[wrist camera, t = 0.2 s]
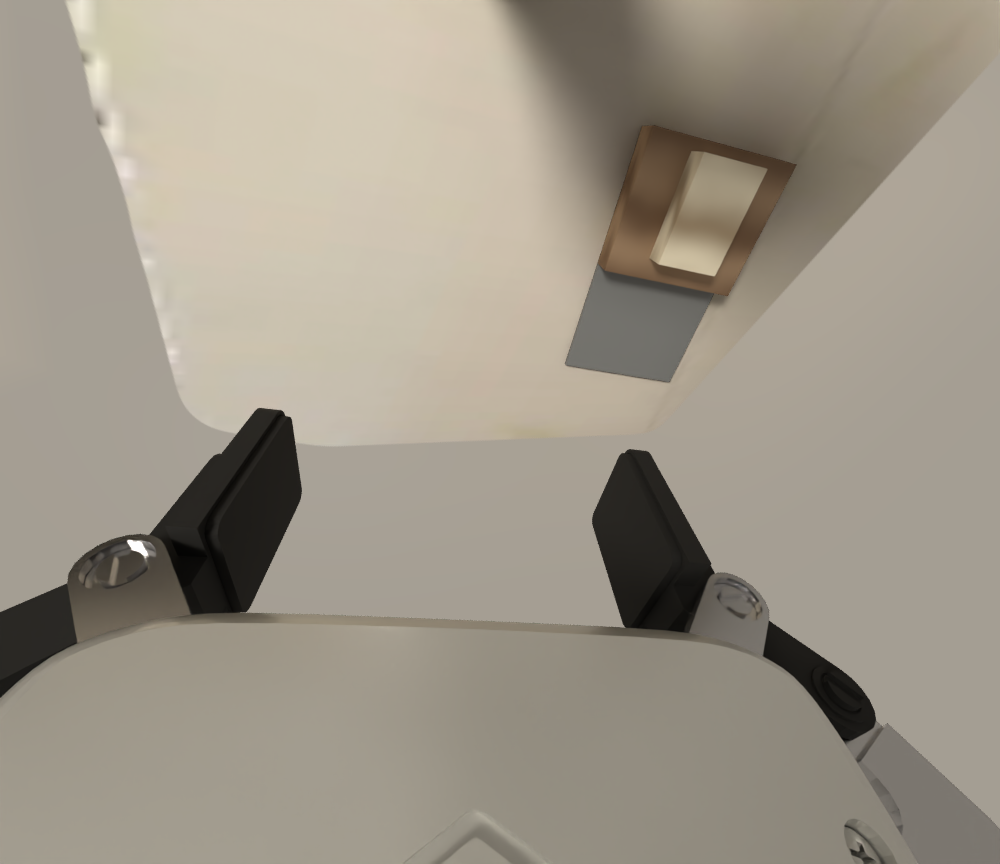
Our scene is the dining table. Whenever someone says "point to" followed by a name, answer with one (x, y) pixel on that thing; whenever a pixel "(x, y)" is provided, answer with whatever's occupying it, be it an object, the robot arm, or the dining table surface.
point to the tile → (706, 212)
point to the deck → (650, 200)
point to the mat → (635, 325)
